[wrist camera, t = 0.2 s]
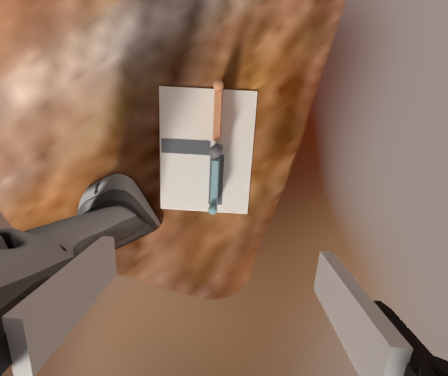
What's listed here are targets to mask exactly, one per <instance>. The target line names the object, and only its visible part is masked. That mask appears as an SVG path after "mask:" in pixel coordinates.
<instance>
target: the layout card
mask: <svg viewBox="0 0 448 376" xmlns="http://www.w3.org/2000/svg"><path fill="white" fill-rule="evenodd" d="M257 93H258V91H244V90H225V89H223V109H222V129H221V140H220V141H213V120H214V95H215V89H206V88H187V87H167V86H159V121H160V200H161V209H174V210H190V211H206V212H208V208H209V206H210V196H211V172H212V160H213V159H214V158H212V157H211V156H210V155H209V149H210V147H212V146H213V145H214V144H216V143H219V144H221V145H222V147H223V151H222V153H221V155H220V156H219V157H218V158H220V171H219V191H218V204H217V212H222V213H238V214H247V213H248V201H249V189H250V177H251V165H252V153H253V141H254V129H255V117H256V105H257Z"/></svg>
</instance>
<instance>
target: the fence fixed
mask: <svg viewBox="0 0 448 376" xmlns="http://www.w3.org/2000/svg"><path fill="white" fill-rule="evenodd" d="M222 151H223V147H222V145H221V144H219V143H216V144H214V145H213V146H212V147H210V149H209V155H210V156H211V157H212V158H214V159H213V160H212V172H211V196H210V206H209V208H208V212H209V213H210V214H215V213H216V212H217V204H218V191H219V171H220V158H218V157H219V156H220V155H221V153H222Z"/></svg>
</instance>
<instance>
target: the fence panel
mask: <svg viewBox="0 0 448 376" xmlns="http://www.w3.org/2000/svg"><path fill="white" fill-rule="evenodd" d="M213 87H214V89H215V95H214V120H213V141H220V140H221V129H222V109H223V82H222V81H221V80H220V79H216V80H215V81H214V82H213Z"/></svg>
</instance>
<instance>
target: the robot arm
mask: <svg viewBox="0 0 448 376" xmlns="http://www.w3.org/2000/svg"><path fill="white" fill-rule="evenodd" d="M115 276H116V260H115V244H114V237H110V236H102V237H100V238H99V239H98V240H97V241H95V242H94V243H93V244H92V245H90V246H89V247H88V248H87V249H85V250H84V251H83V252H82V253H80V254H79V255H78V256H77V257H76V258H74V259H73V260H72V261H71V262H69V263H68V264H67V265H66V266H64V267H63V268H62V269H61V270H59V271H58V272H57V273H56V274H54V275H53V276H52V277H51V278H49V277H46V278H44V279H42V280H40V281H38V282H36V283H34V284H33V285H31V286H30V287H29V288H28V289H26V290H25V291H24V293H21V294H20V295H18V296H17V297H16V299H13V300H12V301H11V302H9V303H8V304H7V305H5V306H4V307H3V308H2V309H0V376H2V374H3V372H4V371H5V370H6V369H7V368H8V367H9V366H10V365H12V370H13V374H14V376H35V375H36V374H37V372H38V371H39V370H40V369H41V367H42V366H43V365H44V364H45V363H46V361H47V360H48V359H49V357H50V356H51V355H52V354H53V353H54V351H55V350H56V349H57V347H58V346H59V345H60V344H61V343H62V341H63V340H64V339H65V338H66V336H67V335H68V334H69V333H70V332H71V330H72V329H73V328H74V327H75V325H76V324H77V323H78V322H79V320H80V319H81V318H82V316H83V315H84V314H85V313H86V312H87V310H88V309H89V308H90V307H91V305H92V304H93V303H94V302H95V300H96V299H97V298H98V297H99V296H100V294H101V293H102V292H103V291H104V289H105V288H106V287H107V286H108V284H109V283H110V282H111V281H112V279H113V278H114V277H115ZM314 291H315V293H316V295H317V297H318V299H319V300H320V302H321V304H322V306H323V308H324V310H325V312H326V314H327V316H328V318H329V320H330V322H331V324H332V325H333V327H334V329H335V331H336V333H337V335H338V337H339V339H340V340H341V343H342V345H343V347H344V349H345V351H346V352H347V354H348V356H349V358H350V360H351V362H352V364H353V366H354V368H355V369H356V372H357V374H358V376H448V361H446V360H443V359H441V358H439V357H435V356H433V355H432V354H431V353H430V352H429V351H428V349H427V348H426V347H425V346H424V345H423V344H422V343H421V342H420V341H419V339H418V338H417V337H416V336H415V335H414V334H413V333H412V332H411V330H410V329H409V328H407V327H406V325H405V324H404V323H403V322H402V320H400V318H399V317H398V316H397V315H396V314H395V313H394V312H393V311H392V309H390V308H389V307H388V306H386V305H385V304H384V303H382V302H381V301H373V300H372V299H371V298H370V297H369V296H368V294H367V293H366V292H365V291H364V289H363V288H362V287H361V286H360V284H359V283H358V282H357V281H356V280H355V278H354V277H353V276H352V275H351V274H350V273H349V271H348V270H347V269H346V268H345V266H344V265H343V264H342V263H341V262H340V261H339V259H338V258H337V257H336V256H335V254H334V253H333V252H325V251H320V255H319V262H318V267H317V272H316V278H315V284H314Z"/></svg>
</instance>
